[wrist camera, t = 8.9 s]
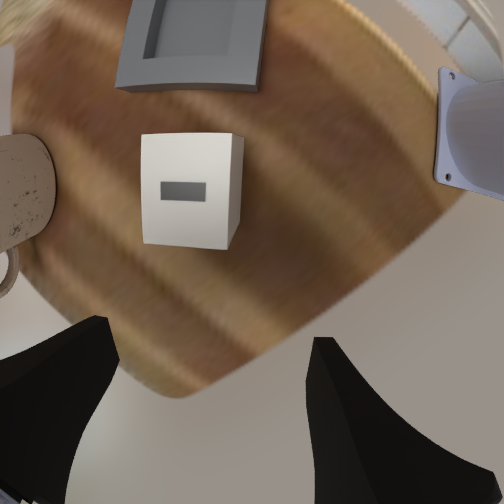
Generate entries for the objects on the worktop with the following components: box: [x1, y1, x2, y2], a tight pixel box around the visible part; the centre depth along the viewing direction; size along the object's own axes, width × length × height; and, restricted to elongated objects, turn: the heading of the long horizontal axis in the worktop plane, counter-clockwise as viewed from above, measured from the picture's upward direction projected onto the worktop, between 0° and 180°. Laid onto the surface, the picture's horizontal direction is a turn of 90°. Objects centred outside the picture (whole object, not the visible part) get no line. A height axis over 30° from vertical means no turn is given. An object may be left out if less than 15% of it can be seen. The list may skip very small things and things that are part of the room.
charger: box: [141, 133, 244, 250], centre depth 14 cm, size 4×5×5 cm
